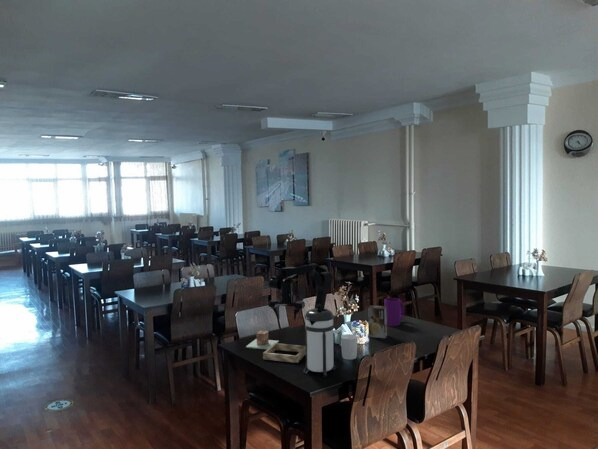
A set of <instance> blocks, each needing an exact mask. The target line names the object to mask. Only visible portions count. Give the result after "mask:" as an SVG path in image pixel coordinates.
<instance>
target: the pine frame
mask: <svg viewBox="0 0 598 449" xmlns="http://www.w3.org/2000/svg"><path fill="white" fill-rule="evenodd" d="M276 351H284V352H295V353H297V354H296V355H294V354H284V353H275V352H276ZM304 356H306V345H299V344H289V343H279V342H278V343H274V344H273V345H272V346H271V347H269V348H268V349H267V350H266V349H265V351H263V352H262V359H263V360H265V361H276V362H277V361H278V362H284V363H285V362H287V363H295V364H298V363H300V361H301V360H302V359H303V357H304Z"/></svg>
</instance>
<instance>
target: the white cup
mask: <svg viewBox="0 0 598 449" xmlns="http://www.w3.org/2000/svg"><path fill="white" fill-rule="evenodd" d="M358 338H359V337H358V335H356V334H351V333H349V334H348V333H347V334H342V335H341V336H340V343H341V344H340V345H341V346H340V347H341V355H342V356H341V357H342V358H343V359H344V360H348V361H350V360H351V361H352V360H355V359H357V353H358Z"/></svg>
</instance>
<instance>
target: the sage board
mask: <svg viewBox="0 0 598 449" xmlns="http://www.w3.org/2000/svg"><path fill="white" fill-rule="evenodd" d="M268 342H269V343H267V344H266V345H257V338H255V339H254V340H252V341H251V342H249V343H248V344H247V345H246V346H245V348H247V349H256V350H257V349H258V350H265V351H266V350H267V349H268V348H269V347H271V346H272V345H273V344H274V343H279V342H280V341H279V340H276V339H275V340H273V339H268Z"/></svg>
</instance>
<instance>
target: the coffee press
mask: <svg viewBox="0 0 598 449" xmlns="http://www.w3.org/2000/svg"><path fill="white" fill-rule="evenodd" d="M316 307H317V308H315V307H314V308H315V309H314V308H311V309H309V310H307V311H306V312H305V315H304V319H305V324H304V328H305V331H304V333H305V346H306V354H305V367H304V368H303V373H304V374H308V372H310V371H311V372H314V373H321V374H322V375H323V376H322V377H325V378H326V377H328V373H327V372H329V371H331V370H336V369H337V366H336V365H335V363H334V360H335V359H334V357H335V356H334V355H335V354H334V328H335V327H334V326H335V325H334V318H335V315H334V313H333V312H332V311H331V310H330V309H328V308H325V307H324V308H321V307H322V306H321V304H318V305H317V306H316Z"/></svg>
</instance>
